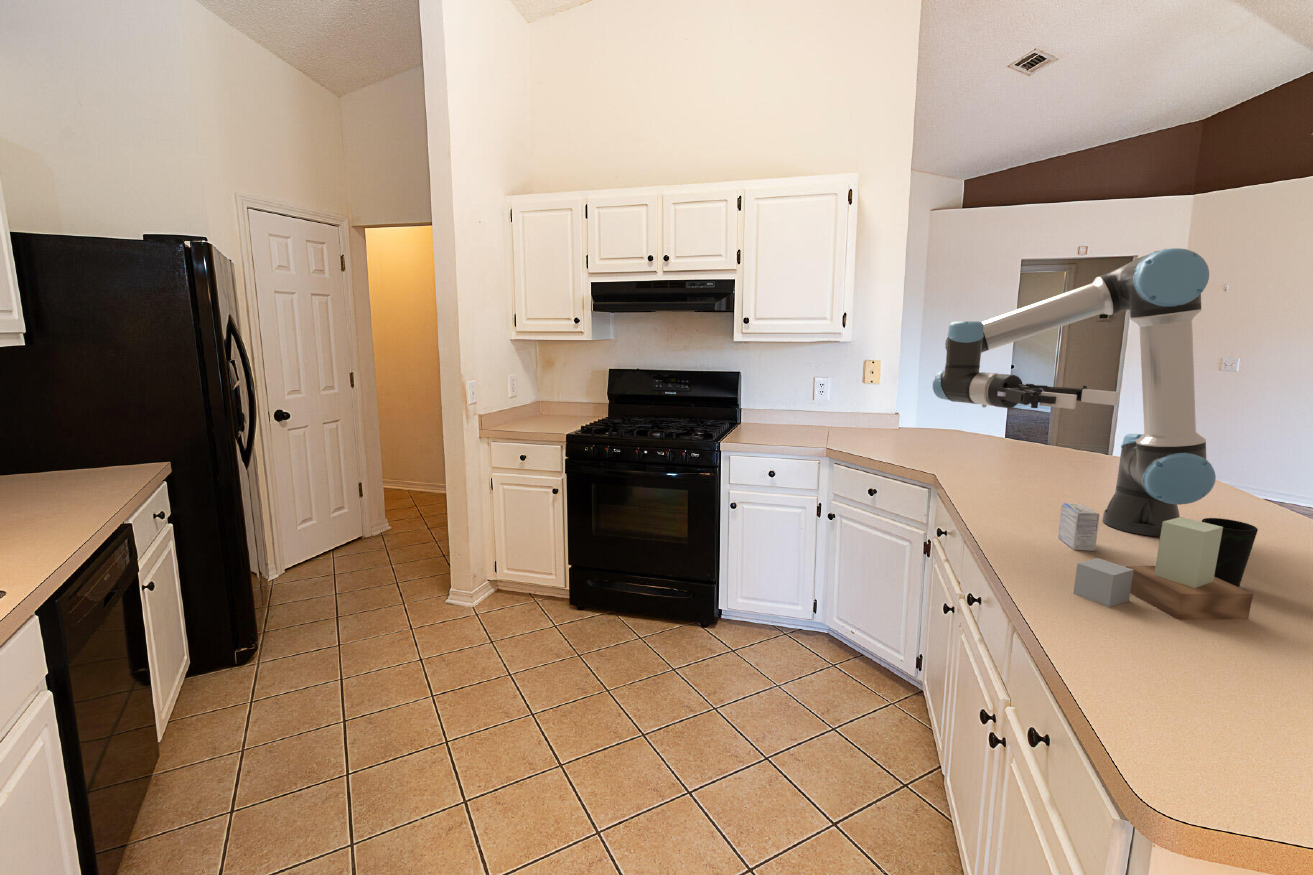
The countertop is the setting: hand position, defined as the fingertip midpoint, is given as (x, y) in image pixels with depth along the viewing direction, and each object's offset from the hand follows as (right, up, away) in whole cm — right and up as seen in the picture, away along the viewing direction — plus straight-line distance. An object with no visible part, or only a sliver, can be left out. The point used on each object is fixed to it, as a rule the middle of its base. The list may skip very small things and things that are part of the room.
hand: (1096, 400), depth 119 cm
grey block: (-6, -36, -10) cm, 38 cm away
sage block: (+6, -32, -13) cm, 35 cm away
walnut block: (+6, -37, -12) cm, 40 cm away
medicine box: (+7, -32, +17) cm, 37 cm away
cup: (+20, -36, -4) cm, 41 cm away
